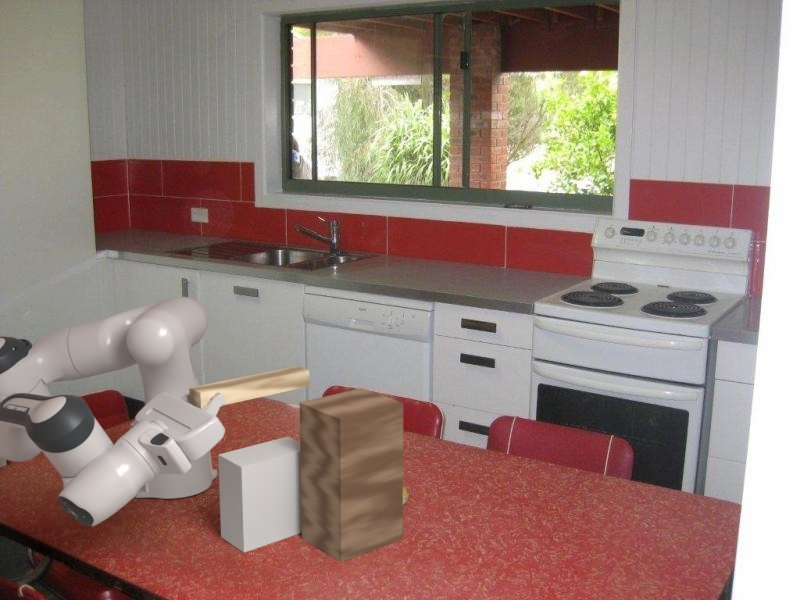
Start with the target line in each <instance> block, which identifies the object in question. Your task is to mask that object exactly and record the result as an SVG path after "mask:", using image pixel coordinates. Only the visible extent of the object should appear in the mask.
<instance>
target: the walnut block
mask: <svg viewBox="0 0 800 600" xmlns="http://www.w3.org/2000/svg"><path fill="white" fill-rule="evenodd" d="M299 439H300V440H299V442H300V458H301V519H302V533H301V539H302V540H303V541H305V542H307V543H308V544H310V545H311V546H313V547H315V548H316V549H318V550H319V551H322V552H324V554H327V555H328V556H330V557H331V558H333V559H335V560H336V561H338V562H340V563H344V562H346V561H349V560H352V559H354V558H357V557H359V556H362V555H365V554H368V553H370V552H372V551H376V550H377V549H380V548H382V547H385V546H389V545H391V544H393V543H396V542H398V541H401V540H403V535H404V534H403V530H404V528H403V527H404V526H403V523H404V522H403V521H404V520H403V513H404V512H403V511H404V510H403V506H404V505H403V487H404V402H401V401H400V400H399V401H398V400H396V399H394V398H391V397H389V396H384V395H383V394H379V393H376V392H374V391H372V390H368V389H365V388H363V387H360V388H356V389H352V390H351V389H350V390H347V391H343V392H339V393H335V394H334V393H333V394H330V395H326V396H321V397H318V398H313V399H309V400H306V401H305V400H304V401H300V402H299Z"/></svg>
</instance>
